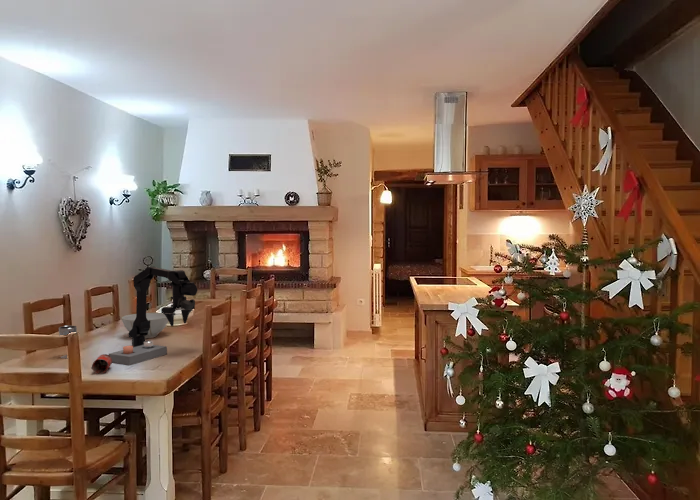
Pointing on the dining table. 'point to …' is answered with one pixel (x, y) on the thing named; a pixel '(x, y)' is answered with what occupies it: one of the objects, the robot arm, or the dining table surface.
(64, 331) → the wine glass
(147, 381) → the dining table surface
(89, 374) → the dining table surface
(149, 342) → the grey rounded piece
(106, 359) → the beverage can
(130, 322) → the decorative bowl
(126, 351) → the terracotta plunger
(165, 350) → the press block
